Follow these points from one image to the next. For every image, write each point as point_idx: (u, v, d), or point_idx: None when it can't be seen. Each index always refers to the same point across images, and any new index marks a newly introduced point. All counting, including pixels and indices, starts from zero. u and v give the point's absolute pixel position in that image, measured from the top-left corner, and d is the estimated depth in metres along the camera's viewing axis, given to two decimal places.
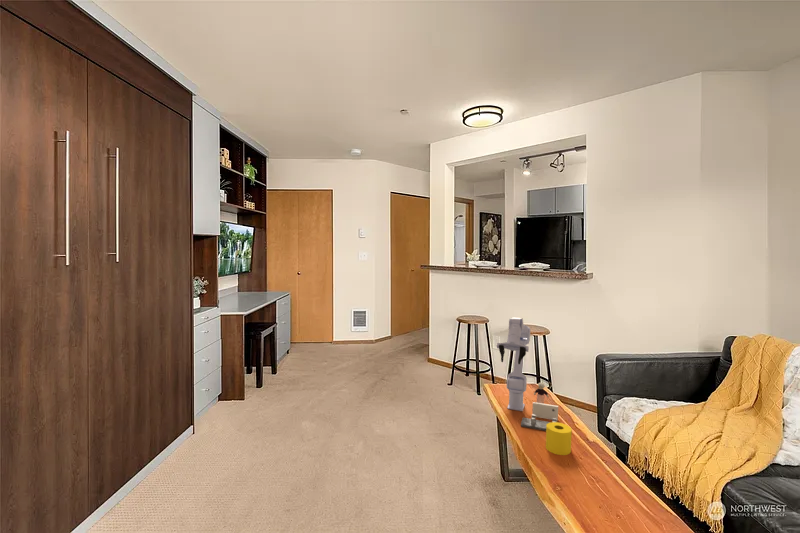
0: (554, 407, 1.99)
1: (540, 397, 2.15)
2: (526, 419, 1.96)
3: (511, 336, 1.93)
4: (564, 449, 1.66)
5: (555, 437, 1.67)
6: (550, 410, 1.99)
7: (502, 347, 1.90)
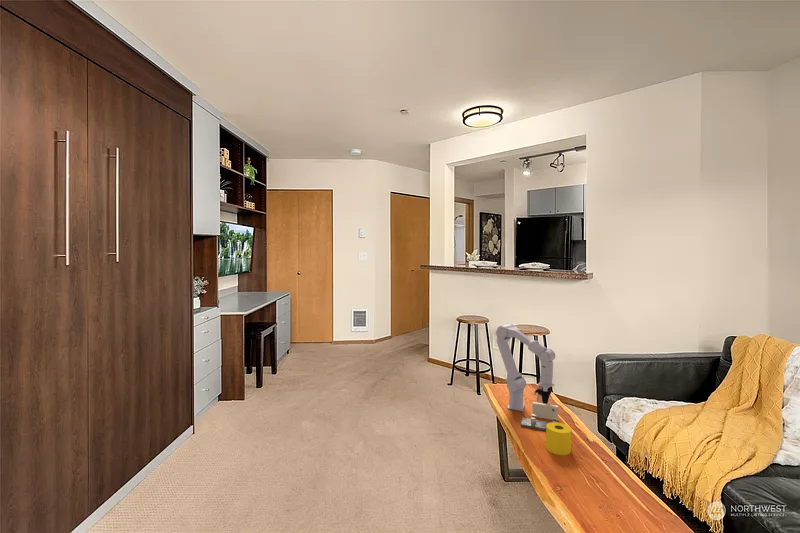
0: (554, 407, 1.99)
1: (540, 397, 2.15)
2: (526, 419, 1.96)
3: None
4: (564, 449, 1.66)
5: (555, 437, 1.67)
6: (550, 410, 1.99)
7: (550, 392, 1.96)
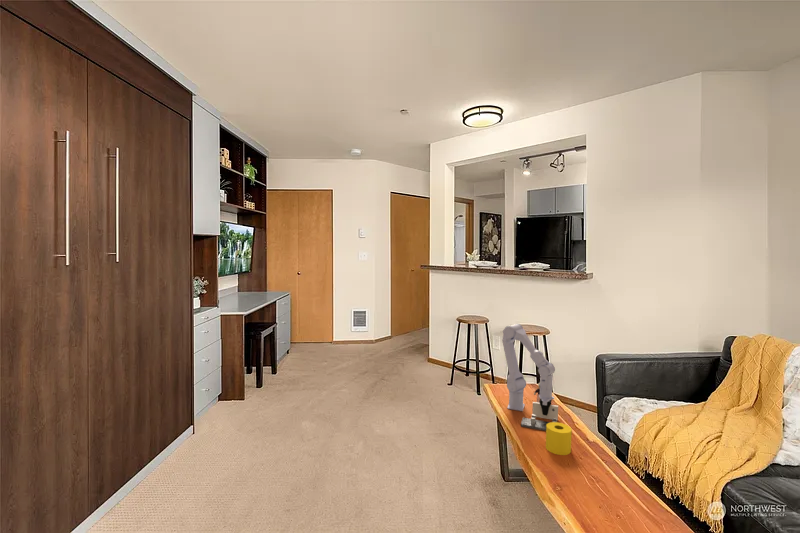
0: (554, 407, 1.99)
1: None
2: (526, 419, 1.96)
3: (551, 391, 1.99)
4: (564, 449, 1.66)
5: (555, 437, 1.67)
6: (550, 410, 1.99)
7: (550, 404, 1.99)
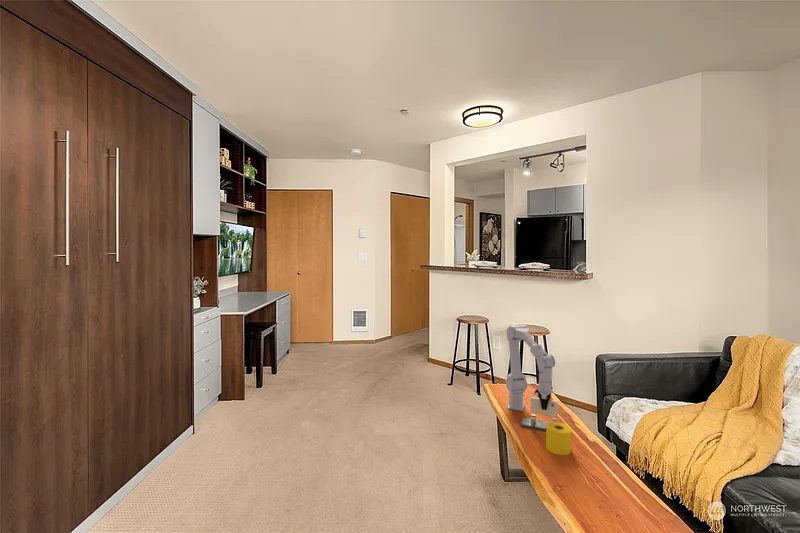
0: (553, 402, 1.88)
1: None
2: (526, 419, 1.96)
3: (551, 384, 1.88)
4: (564, 449, 1.66)
5: (555, 437, 1.67)
6: (549, 405, 1.89)
7: (549, 398, 1.88)
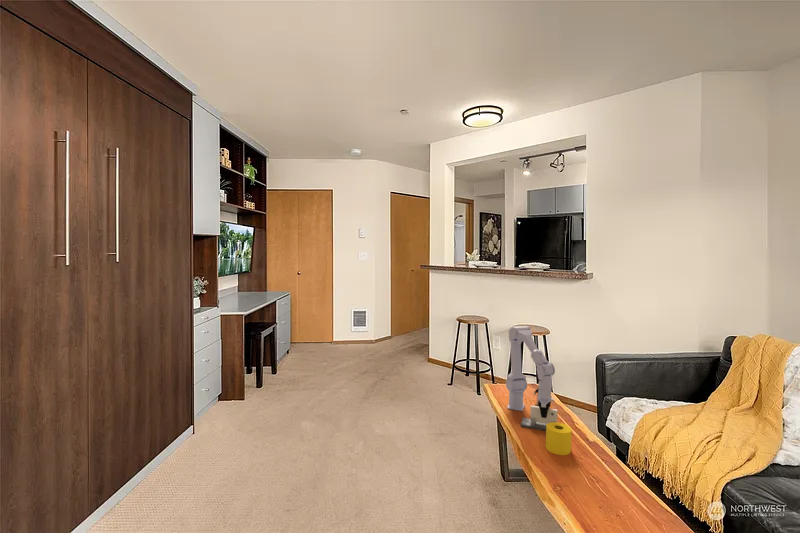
0: (553, 411, 1.88)
1: None
2: (526, 419, 1.96)
3: (550, 392, 1.88)
4: (564, 449, 1.66)
5: (555, 437, 1.67)
6: (549, 414, 1.89)
7: (549, 406, 1.88)
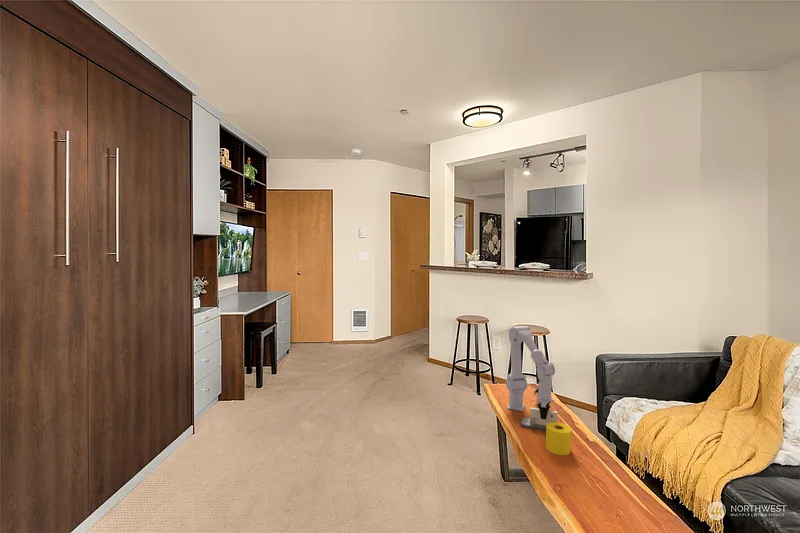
0: (553, 413, 1.88)
1: None
2: (526, 419, 1.96)
3: (550, 392, 1.88)
4: (564, 449, 1.66)
5: (555, 437, 1.67)
6: (549, 416, 1.89)
7: None
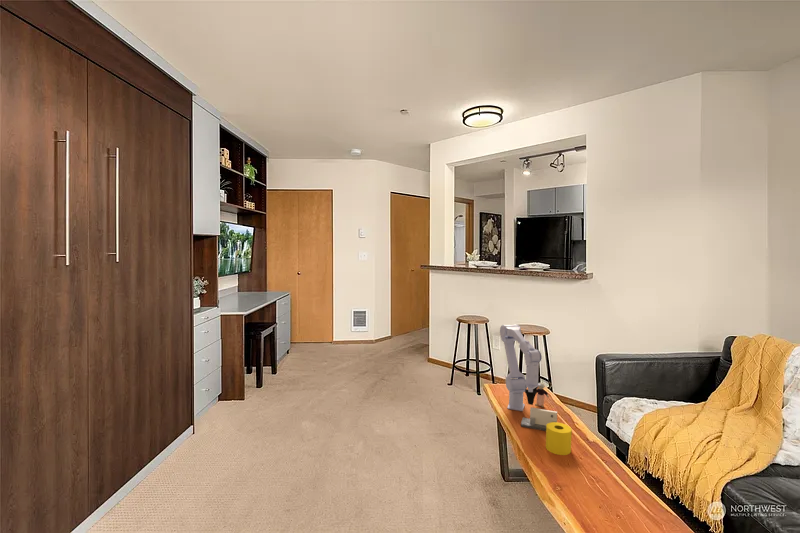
0: (553, 413, 1.88)
1: (540, 397, 2.15)
2: (526, 419, 1.96)
3: (537, 378, 1.96)
4: (564, 449, 1.66)
5: (555, 437, 1.67)
6: (549, 416, 1.89)
7: (536, 393, 1.93)
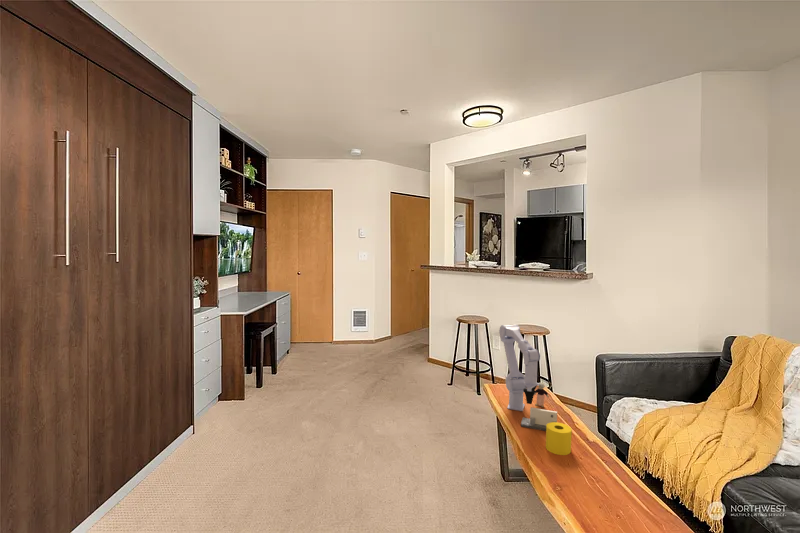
0: (553, 413, 1.88)
1: (540, 397, 2.15)
2: (526, 419, 1.96)
3: (536, 377, 1.96)
4: (564, 449, 1.66)
5: (555, 437, 1.67)
6: (549, 416, 1.89)
7: (534, 392, 1.94)
